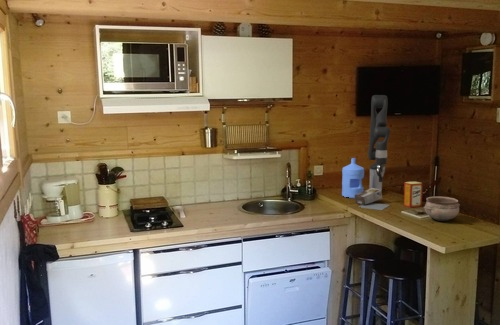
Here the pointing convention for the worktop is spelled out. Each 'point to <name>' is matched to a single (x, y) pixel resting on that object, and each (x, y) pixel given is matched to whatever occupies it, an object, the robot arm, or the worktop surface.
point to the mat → (375, 206)
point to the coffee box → (368, 196)
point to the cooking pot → (442, 208)
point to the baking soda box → (413, 194)
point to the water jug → (352, 179)
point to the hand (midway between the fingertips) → (380, 181)
